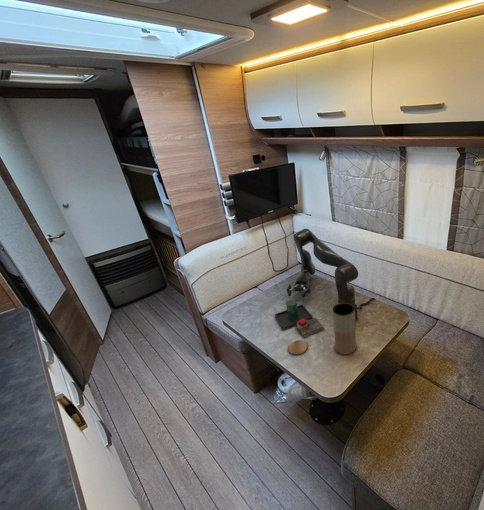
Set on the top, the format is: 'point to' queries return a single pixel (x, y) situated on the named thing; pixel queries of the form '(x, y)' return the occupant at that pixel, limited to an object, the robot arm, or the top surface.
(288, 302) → the green peg
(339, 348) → the planter
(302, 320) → the stop button
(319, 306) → the top surface
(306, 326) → the box
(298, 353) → the trivet
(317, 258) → the robot arm
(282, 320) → the baking tray
